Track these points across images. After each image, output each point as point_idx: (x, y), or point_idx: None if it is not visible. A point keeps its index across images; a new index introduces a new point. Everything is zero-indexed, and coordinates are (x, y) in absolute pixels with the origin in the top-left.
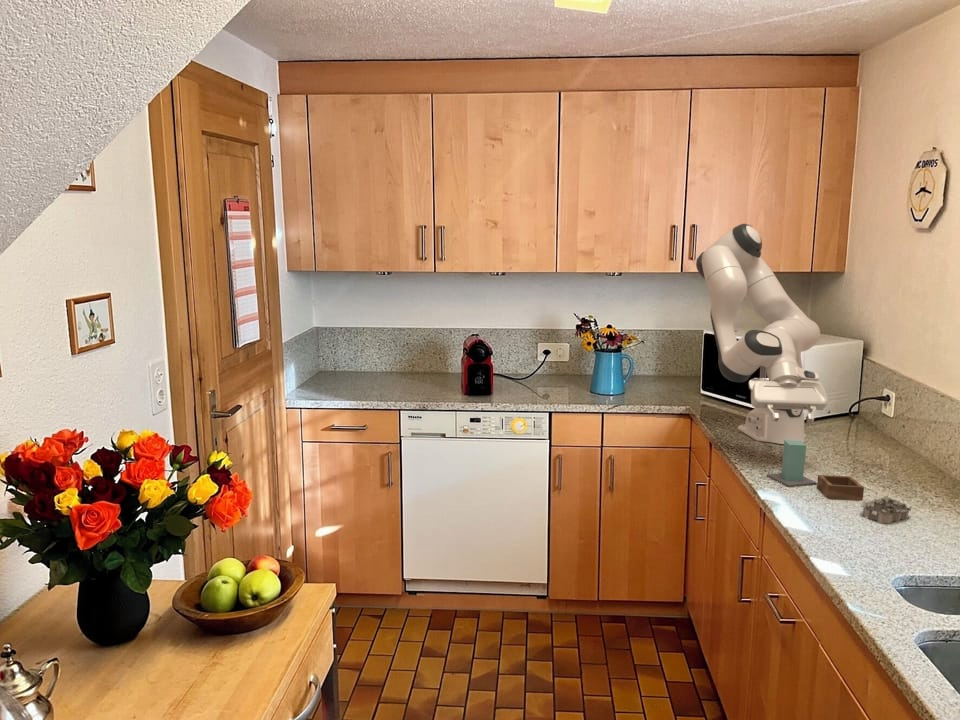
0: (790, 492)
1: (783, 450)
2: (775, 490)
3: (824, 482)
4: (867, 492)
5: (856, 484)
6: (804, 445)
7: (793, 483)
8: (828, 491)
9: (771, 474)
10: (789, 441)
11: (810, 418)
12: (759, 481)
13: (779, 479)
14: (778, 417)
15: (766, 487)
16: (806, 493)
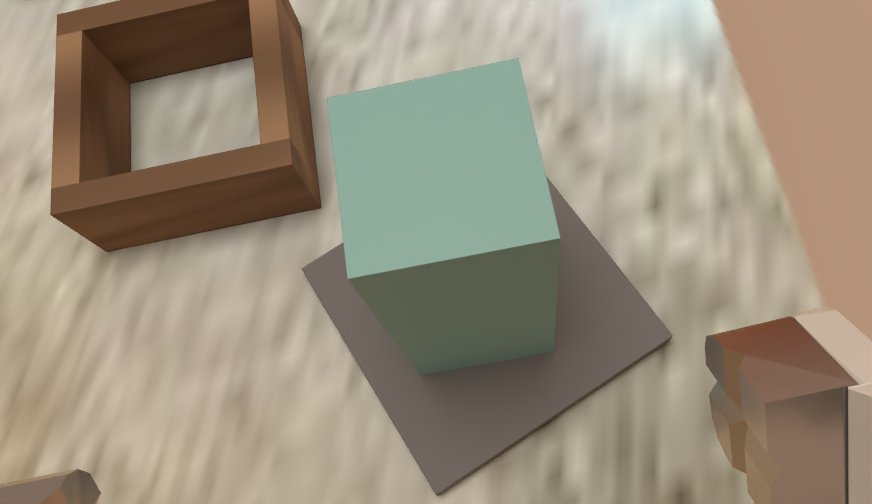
0: (512, 55)
1: (557, 283)
2: (608, 57)
3: (283, 49)
4: (14, 230)
5: (82, 60)
6: (348, 93)
7: None
8: (286, 2)
9: (631, 347)
10: (501, 193)
11: (28, 487)
12: (721, 201)
13: (573, 239)
14: (723, 339)
15: (668, 92)
16: (412, 74)
